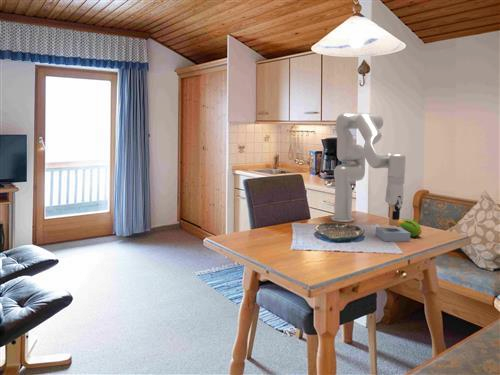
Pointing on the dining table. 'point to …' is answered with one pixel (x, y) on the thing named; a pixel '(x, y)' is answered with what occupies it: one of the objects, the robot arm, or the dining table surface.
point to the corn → (410, 227)
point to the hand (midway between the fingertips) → (393, 218)
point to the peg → (391, 221)
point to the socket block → (393, 234)
